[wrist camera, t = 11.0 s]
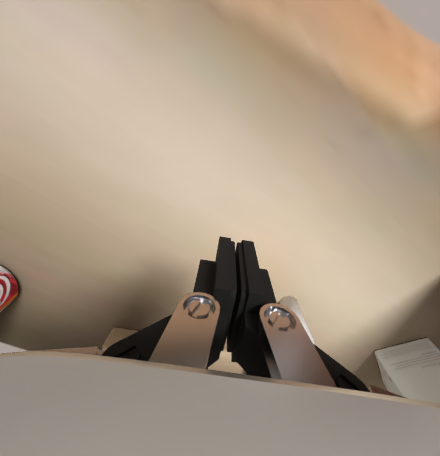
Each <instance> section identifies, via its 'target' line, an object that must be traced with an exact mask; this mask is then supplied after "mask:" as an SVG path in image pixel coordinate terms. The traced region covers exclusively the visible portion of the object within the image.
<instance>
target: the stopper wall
mask: <svg viewBox="0 0 440 456" xmlns="http://www.w3.org/2000/svg"><path fill="white" fill-rule="evenodd" d="M136 332H138V331H136V330H129V329H122V328H115V327H113V329H112V330H111V332H110V334H109V335H108V337H107V339H106V341H105V342H104V344H103V346H102V347H103V350H106V349H107V348H108V347H110V346H111V345H113V344H114V343H116V342H118V341H120V340H122V339H124V338H126V337H128V336H130V335H132V334H134V333H136ZM208 369H213V370H220V371H227V372H234V373H241V374H242V370H243V368H242V367H241V366H240V365H239V364H238V363H236V362H231V352H227V343H225V346H224V350H223V351H221V353H220V357H219V359H218V360H217V361H216V362H215V363H213V364H212V365H211V366H209V367H208Z"/></svg>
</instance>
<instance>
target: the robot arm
mask: <svg viewBox="0 0 440 456" xmlns="http://www.w3.org/2000/svg"><path fill="white" fill-rule="evenodd" d="M226 337H227V352H231V362H236V363H238V364H239V365H240V366H241V367H242V368H243V370H242V374H238V373H230V372H223V371H216V370H209V369H208V367H209V366H211V365H212V364H213V363H215V362H216V361H217V360H218V359H219V357H220V353H221V351H223V350H224V346H225V341H226ZM0 456H440V404H437V403H432V402H426V401H420V400H414V399H408V398H406V397H403V396H400V395H397V394H394V393H392V392H389V391H386V390H383V389H380V388H378V387H375V386H372V385H369V387H368V388H367V387H366V386H365V384H364V383H363V382H362V381H361V380H359V379H358V378H357V377H356V376H355V375H353V374H352V373H351V372H350V371H348V370H347V369H346V368H344V367H343V366H342V365H340V364H339V363H338V362H336V361H335V360H334V359H333V358H331V357H330V356H329V355H327V354H326V353H325V352H323V351H322V350H321V349H319V348H318V347H317V346H316V345H314V344H313V343H312V341H311V339H310V338H309V336H308V334H307V332H306V330H305V329H304V327H303V325H302V323H301V321H300V319H299V318H298V317H297V315H296V314H295V313H294V312H293V311H292V310H290V309H289V308H287V307H285V306H283V305H280V304H277V303H276V299H275V296H274V292H273V289H272V285H271V281H270V278H269V274H268V271H267V270H266V269H259V265H258V260H257V256H256V251H255V247H254V243H253V242H251V241H245V240H242V242H241V243H239V242H238V243H237V246H236V251H235V242H233V241H231V238H226V237H220V238H219V244H218V249H217V255H216V261H215V262H214V261H208V260H200V264H199V269H198V273H197V278H196V282H195V287H194V291H193V293H190V294H187V295H185V296H184V297H182V299H181V300H180V301H179V303H178V305H177V307H176V309H175V311H174V313H173V314H172V315H170V316H168V317H166V318H164V319H162V320H160V321H158V322H156V323H154V324H152V325H150V326H148V327H146V328H144V329H142V330H140V331H138V332H136V333H134V334H132V335H130V336H128V337H126V338H124V339H122V340H120V341H118V342H116V343H114V344H113V345H111V346H110V347H108V348H107V349H106V350H98V347H83V348H69V349H54V350H40V351H25V352H13V353H2V354H0Z"/></svg>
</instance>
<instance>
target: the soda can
mask: <svg viewBox="0 0 440 456" xmlns="http://www.w3.org/2000/svg"><path fill="white" fill-rule="evenodd" d="M17 294H18V285H17V283H16V280H15V278H14V276H13V275H12V273H11V272H10V271H9V270H7V269H6V268H5V267H3V266H1V265H0V312H1V311H2V310H3V309H4V308H5V307H6V306H8V305H9V304H10V303H11V302H12V301H13V300H14V299H15V298H16V297H17Z"/></svg>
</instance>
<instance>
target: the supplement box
mask: <svg viewBox="0 0 440 456" xmlns="http://www.w3.org/2000/svg"><path fill="white" fill-rule="evenodd" d="M374 354H375V356H376V359H377V362H378V365H379V369H380V372H381V376H382V381H383V383H384V385H385V386H386V388H387V389H388V391H389V392H392V393H394V394H397V395H400V396H403V397H406V398H408V399H414V400H420V401H426V402H432V403H437V404H440V350H439V349H438V348H437V347H436V346H435V345H434V344H433V343H432V341H431V340H430V339H429V338H424V339H420V340H415V341H412V342H407V343H404V344H399V345H395V346H392V347H388V348H384V349H380V350H376V351H375V352H374Z"/></svg>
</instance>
